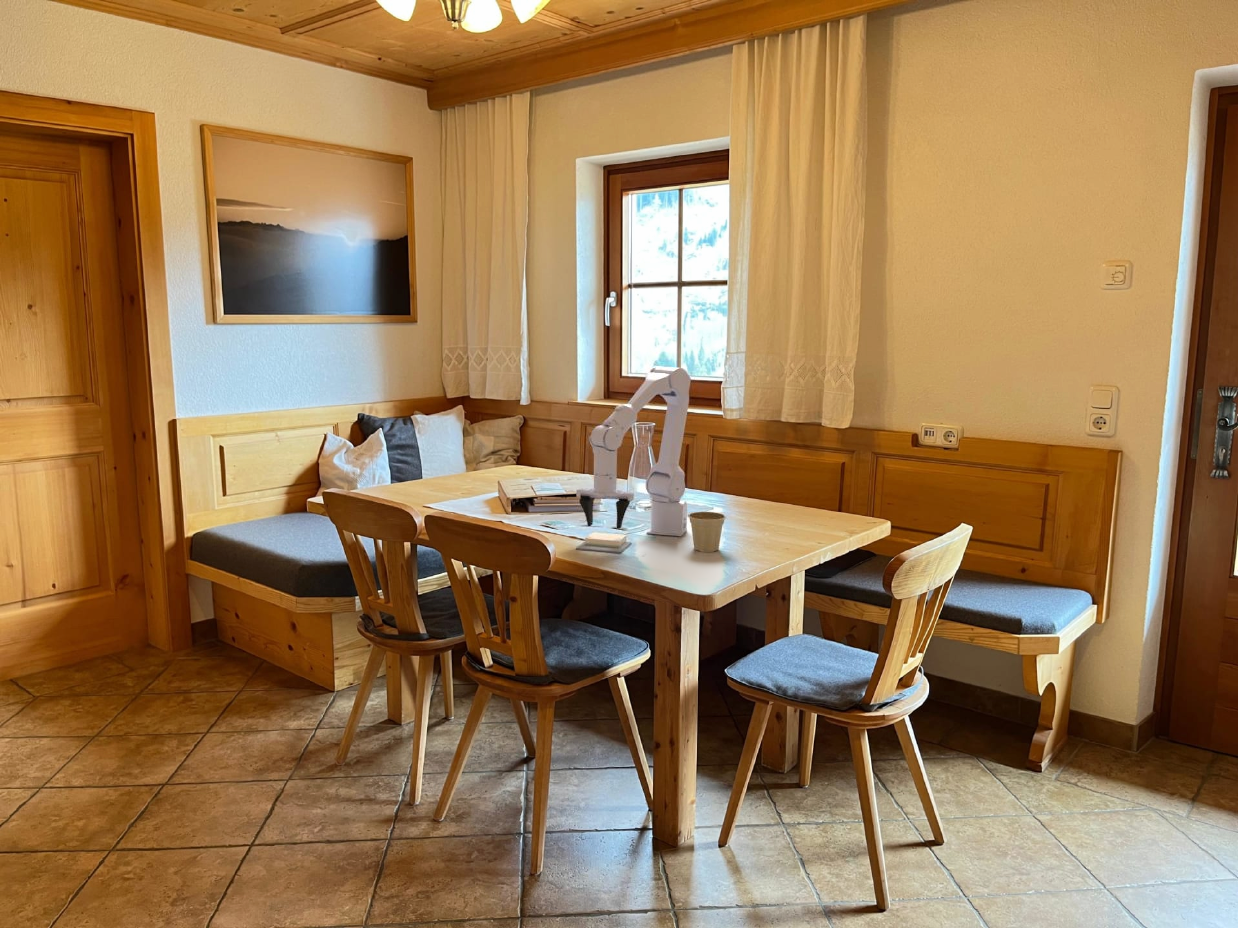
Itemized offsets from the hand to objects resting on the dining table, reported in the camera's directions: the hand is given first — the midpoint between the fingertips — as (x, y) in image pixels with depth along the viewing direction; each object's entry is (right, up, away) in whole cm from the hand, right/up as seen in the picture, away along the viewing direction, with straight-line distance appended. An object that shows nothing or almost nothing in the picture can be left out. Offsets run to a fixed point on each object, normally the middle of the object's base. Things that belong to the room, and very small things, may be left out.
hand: (604, 526), depth 235 cm
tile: (+1, -3, +3) cm, 4 cm away
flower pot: (+25, -6, -3) cm, 26 cm away
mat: (0, -5, -2) cm, 5 cm away
